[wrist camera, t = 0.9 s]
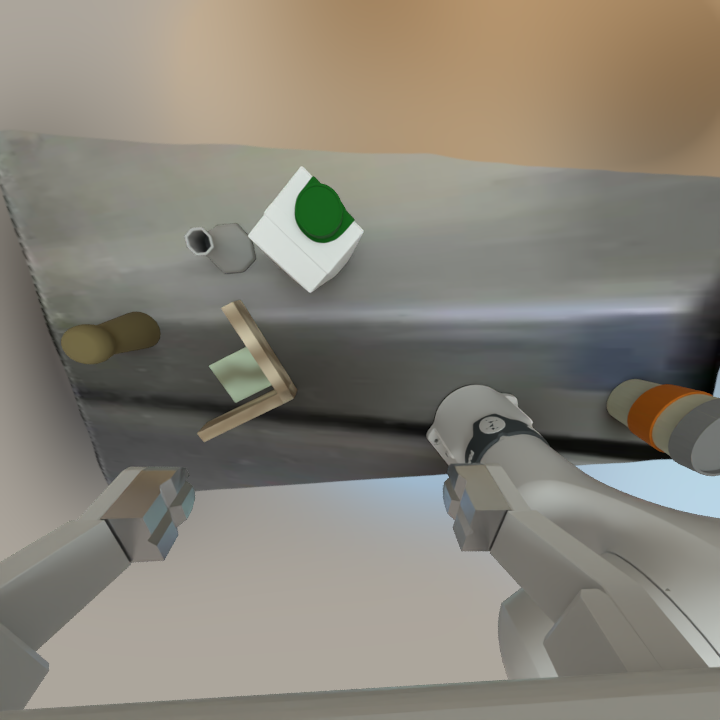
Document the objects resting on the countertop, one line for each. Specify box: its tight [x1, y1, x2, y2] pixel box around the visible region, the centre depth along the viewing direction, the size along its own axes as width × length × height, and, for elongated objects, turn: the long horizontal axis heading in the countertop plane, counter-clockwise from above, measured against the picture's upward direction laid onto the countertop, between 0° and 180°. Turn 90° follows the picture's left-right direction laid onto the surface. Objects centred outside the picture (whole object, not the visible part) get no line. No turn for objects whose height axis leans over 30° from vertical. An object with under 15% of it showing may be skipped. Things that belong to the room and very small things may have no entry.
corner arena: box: [197, 300, 297, 442], centre depth 45 cm, size 18×18×4 cm
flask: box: [184, 223, 256, 274], centre depth 36 cm, size 7×7×10 cm
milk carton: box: [248, 166, 364, 293], centre depth 32 cm, size 9×9×20 cm
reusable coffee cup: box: [607, 379, 720, 476], centre depth 47 cm, size 13×13×15 cm
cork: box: [61, 312, 160, 364], centre depth 38 cm, size 6×6×11 cm
